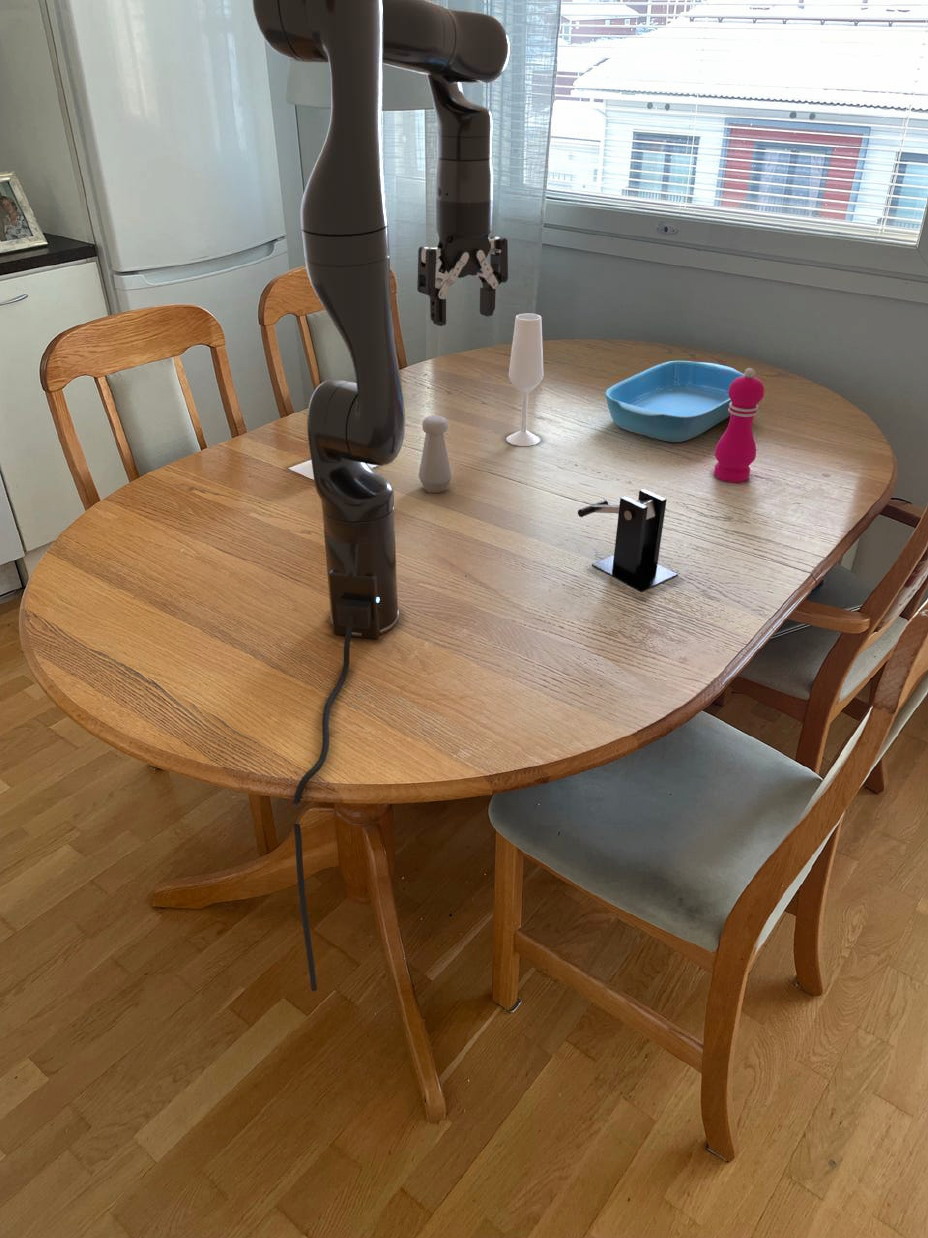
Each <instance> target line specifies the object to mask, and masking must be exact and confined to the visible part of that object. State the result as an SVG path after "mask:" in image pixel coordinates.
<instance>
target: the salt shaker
mask: <svg viewBox="0 0 928 1238" xmlns="http://www.w3.org/2000/svg"><path fill="white" fill-rule="evenodd" d="M421 426H422V427H421V428H422V432H424V433H425V435H424V441H423V446H422V452H421V460H420V465H419V470H418V479H419V482H420V483H421V486H422V487H423V489H424V490H425V491H426V492H428V493H435V494H439V493H442V492H445V491H447V489H448V488H449V484H450V482H451V480H452V477H453V474H452V469H451V463H450V458H449V454H448V449H447V443H446V439H445V433H447V431H448V426H449V425H448V420H447V419H446V418H445V417H444V416H441V415H428V416H427V417H425V418H424V419H423V420H422V424H421Z"/></svg>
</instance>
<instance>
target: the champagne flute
mask: <svg viewBox="0 0 928 1238" xmlns="http://www.w3.org/2000/svg"><path fill="white" fill-rule="evenodd" d="M542 323H543V322H542V316H541V315H539V314H537V313H519V314H517V315H515V321H514V326H513V327H514V328H513V334H512V335H513V337H512V344H511V351H510V358H509V360H510V361H509V367H508V378H509V381H510V382H511V384H512V385H513V386H514V387H515V388H516V389H517V391H519V392H521V412H520V430H518V431H515V432H514V433H512V434H510V435H508V436H507V437H506V442H507V443H509V444H511V445H514V446H518V447H530V446H534V445H537V444H538V443H540V441H541V439H540V437H539V436H537V435H535V434H534V433H532V432H531V431H529V430H527V429H528V428H527V427H528V406H529V404H528V403H529V393H530V392H533V391H534V390H535V389H536V388H537V387H538V386H539V385H540V383H541V382H542V380H543V379H544V353H543V352H544V351H543V349H544V348H543V326H542V325H543V324H542Z"/></svg>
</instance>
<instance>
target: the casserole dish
mask: <svg viewBox="0 0 928 1238" xmlns="http://www.w3.org/2000/svg"><path fill="white" fill-rule="evenodd" d="M742 376H745V375H744V372H743V373H742V372H741V371H739V370H736V369H735V368H733V367H730V366H726V365H724V364H723V365H722V364H718V363H712V362H704V361H703V362H702V361H701V362H699V361H690V360H672V361H666V362H663V363H660V364H656V365H654V366H652V367H650V368H647V369H646V370H644V371H641V372H639V373H637V374H635V375H632V376H631V377H627V378H626V379H624V380H621V381H619V382H617V383H616V384H614V385H612V386H610V387H609V388H607V390H606V391H605V393H604V395H605V398H606V403H607V407H608V411H609V414H610V417H611V420H612V421H613V422H614V424H615V425H617V426H618V428H620V429H623V430H625V431H628V432H631V433H634V434H637V435H641V436H645V437H648V438H651V439H654V440H658V441H663V442H668V443H681V442H686V441H689V440H692V439H693V438H695V437H698V436H700V435H702V434H703V433H705V432H707V431H708V430H710V429H712V428H713V427H715V426H717V425H718V424H720V423H722V422H723V421H724V420H726V419H728V418H730V412H729V411H728V409H729V407H730V406H729V403H730V402H732V401H731V399H730V398H729V395H728V391H729V387H730V385H731V383H732V382H733V381H734V380H735V379H736V378H738V377H742Z"/></svg>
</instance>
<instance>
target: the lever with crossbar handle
mask: <svg viewBox="0 0 928 1238" xmlns="http://www.w3.org/2000/svg"><path fill="white" fill-rule="evenodd" d="M635 501H636V502H639V503H641V504H643V505H645V506H647V507H648V509H647V517H646V520H647V519H649V518H652V517H654V516H655V509H654V502H653V500H638V499H637V500H635ZM619 505H620V504H609V502H608V500H607V499H604V500H601V501H597V502H596V503H593V504H590V505H587V506H585V507H582V508H580V509H578V510H577V515H578V517H579V518H584V517H586V516H589V515H591V514H619Z"/></svg>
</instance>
